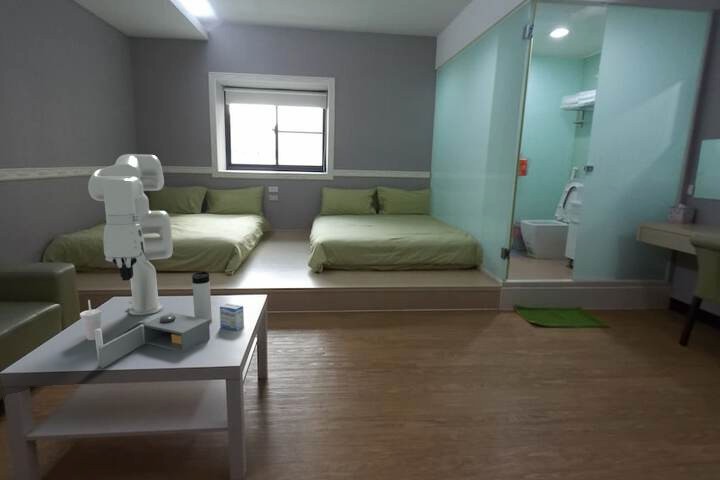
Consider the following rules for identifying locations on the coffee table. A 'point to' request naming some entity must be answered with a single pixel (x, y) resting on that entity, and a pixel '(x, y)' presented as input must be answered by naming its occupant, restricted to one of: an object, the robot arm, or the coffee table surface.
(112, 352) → the side door
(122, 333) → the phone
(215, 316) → the coffee table surface
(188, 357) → the coffee table surface
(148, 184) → the robot arm
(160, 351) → the coffee table surface
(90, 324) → the smoothie
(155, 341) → the cabinet body
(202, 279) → the travel mug
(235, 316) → the medicine box
